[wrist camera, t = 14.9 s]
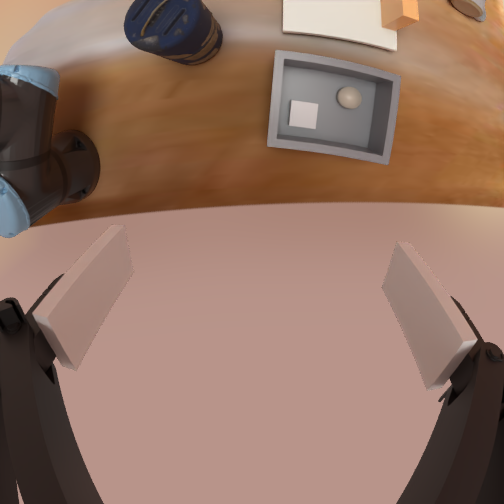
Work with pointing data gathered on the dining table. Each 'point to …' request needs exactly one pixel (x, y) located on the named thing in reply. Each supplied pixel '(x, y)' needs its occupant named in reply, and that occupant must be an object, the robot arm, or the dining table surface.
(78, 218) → the dining table surface
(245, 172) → the dining table surface
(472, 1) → the ceramic mug
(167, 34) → the canister
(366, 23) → the lid
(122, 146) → the dining table surface
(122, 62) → the dining table surface
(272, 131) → the tub
